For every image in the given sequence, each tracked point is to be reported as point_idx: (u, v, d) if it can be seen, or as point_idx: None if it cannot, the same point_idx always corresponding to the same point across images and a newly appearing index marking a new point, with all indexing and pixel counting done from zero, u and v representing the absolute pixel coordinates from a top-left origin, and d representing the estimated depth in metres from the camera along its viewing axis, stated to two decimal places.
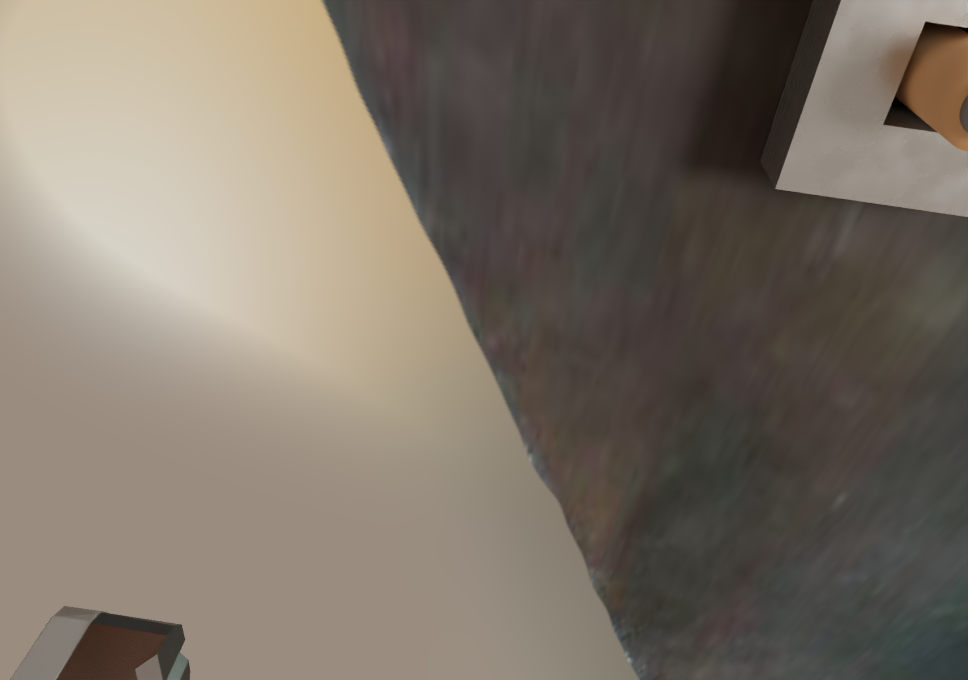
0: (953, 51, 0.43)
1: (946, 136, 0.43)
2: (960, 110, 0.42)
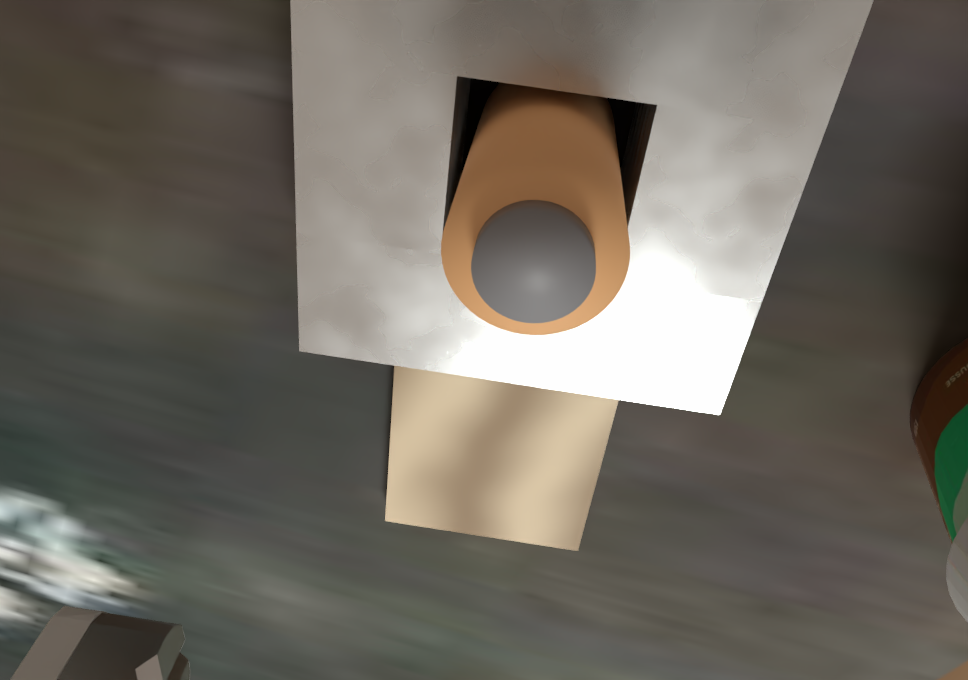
0: (613, 164, 0.22)
1: (472, 189, 0.20)
2: (528, 201, 0.20)
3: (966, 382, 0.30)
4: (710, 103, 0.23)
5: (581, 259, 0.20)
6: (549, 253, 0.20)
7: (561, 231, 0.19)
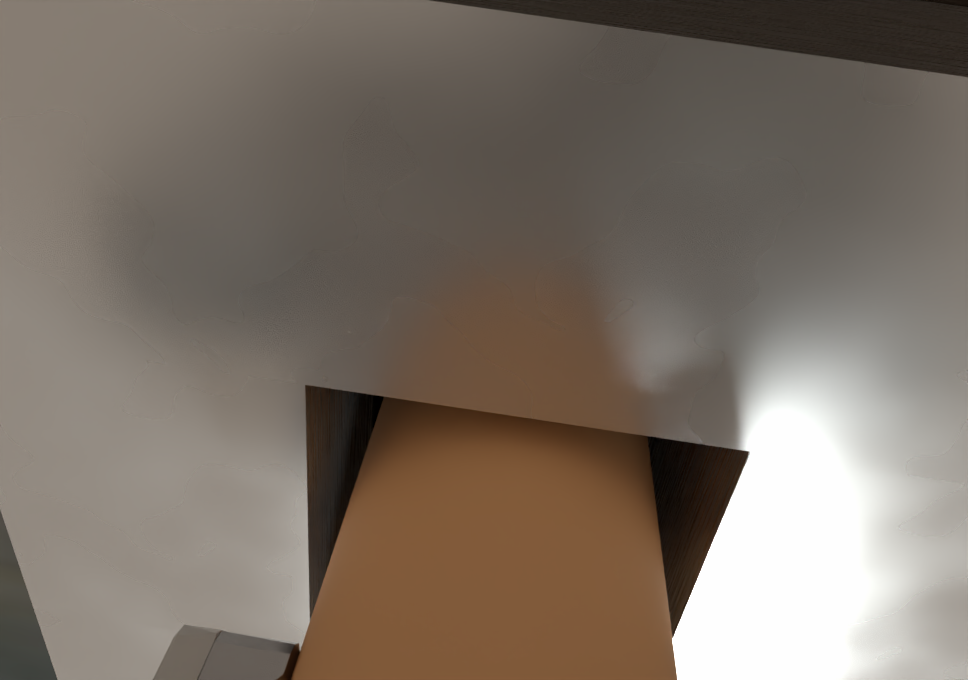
0: (655, 610, 0.10)
1: None
2: None
3: None
4: (871, 454, 0.10)
5: None
6: None
7: None
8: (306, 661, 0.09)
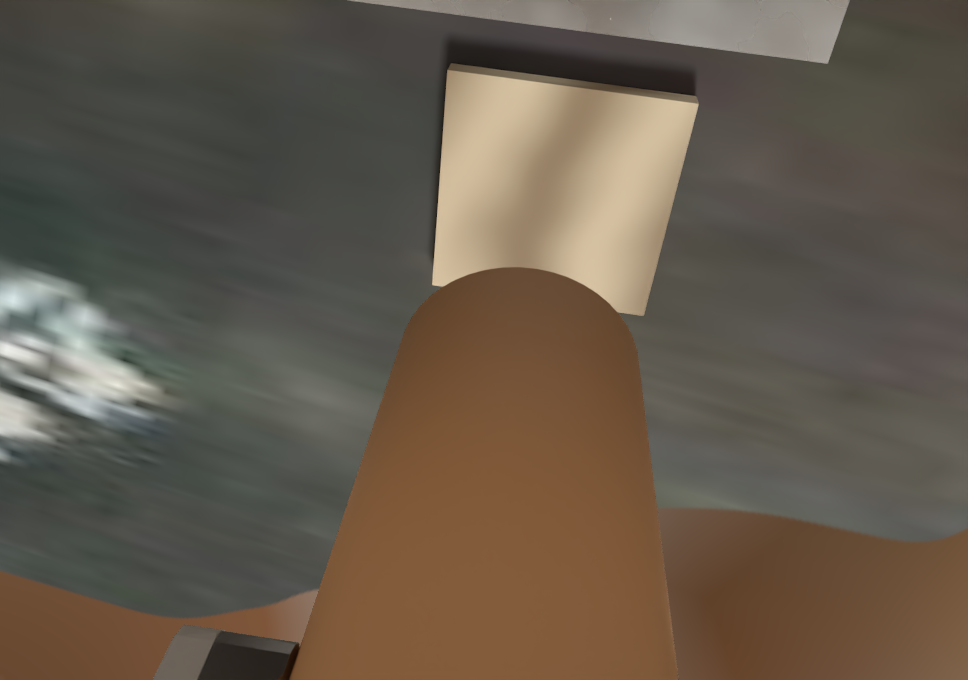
0: (656, 605, 0.10)
1: None
2: None
3: None
4: None
5: None
6: None
7: None
8: (306, 656, 0.09)
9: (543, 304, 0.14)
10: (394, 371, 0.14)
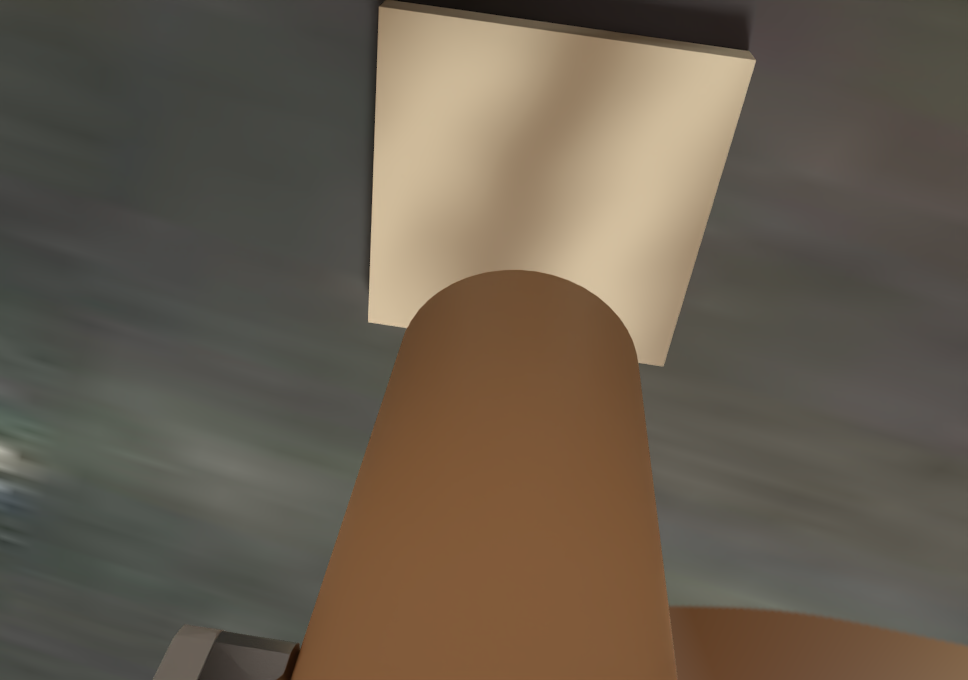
0: (655, 609, 0.10)
1: None
2: None
3: None
4: None
5: None
6: None
7: None
8: (306, 660, 0.09)
9: (543, 307, 0.14)
10: (394, 374, 0.14)
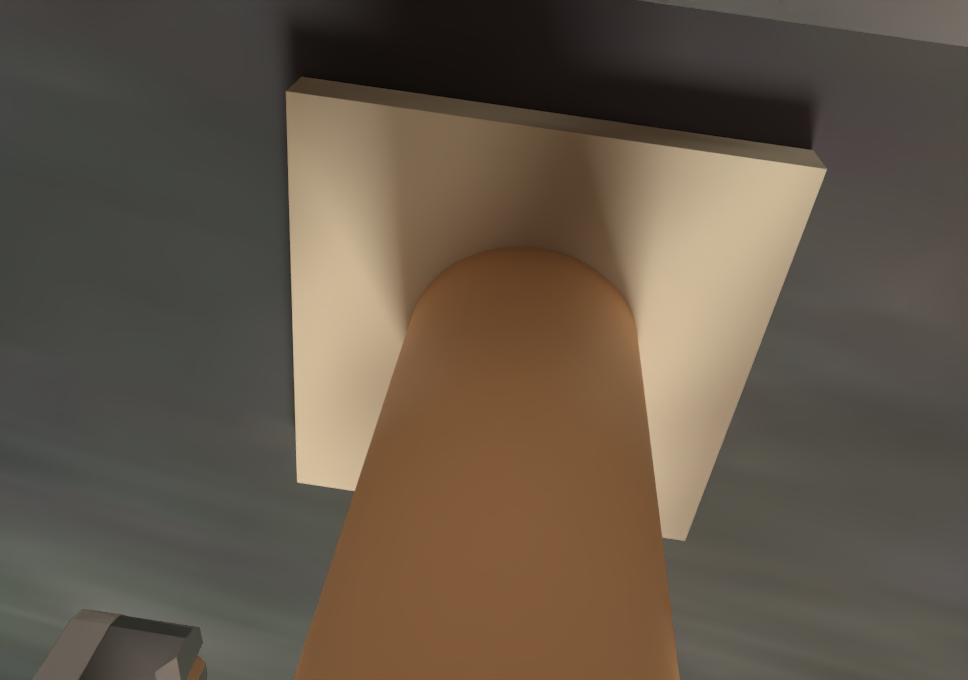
0: (652, 554, 0.10)
1: None
2: None
3: None
4: None
5: None
6: None
7: None
8: (329, 597, 0.10)
9: (547, 281, 0.14)
10: (405, 345, 0.15)
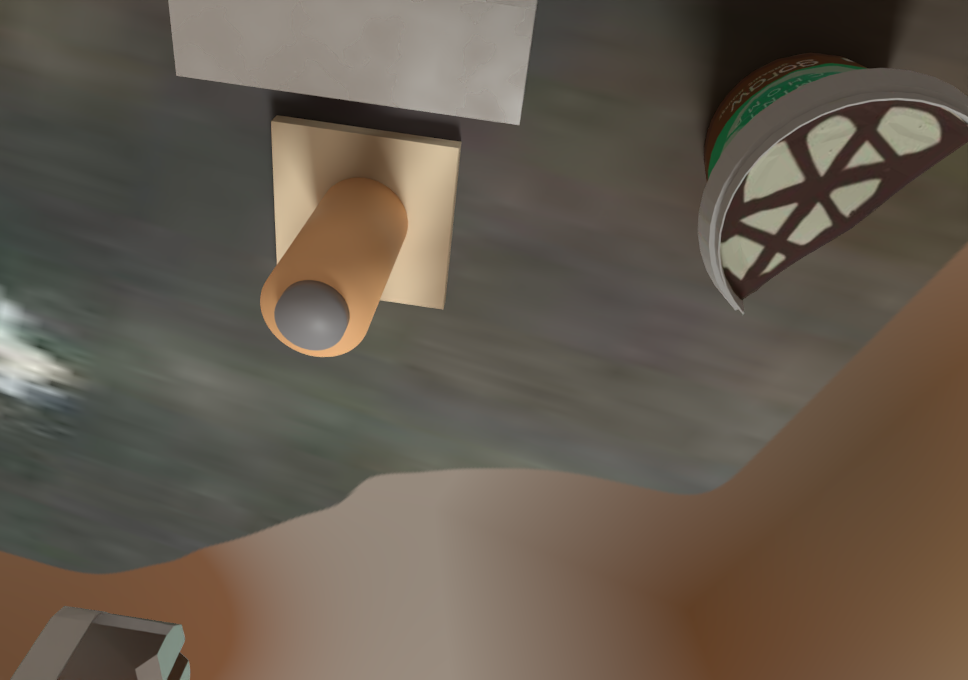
0: (373, 252, 0.37)
1: (273, 274, 0.34)
2: (305, 280, 0.34)
3: (729, 109, 0.37)
4: None
5: (335, 314, 0.34)
6: (317, 310, 0.34)
7: (321, 299, 0.34)
8: None
9: (363, 187, 0.41)
10: None
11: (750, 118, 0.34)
